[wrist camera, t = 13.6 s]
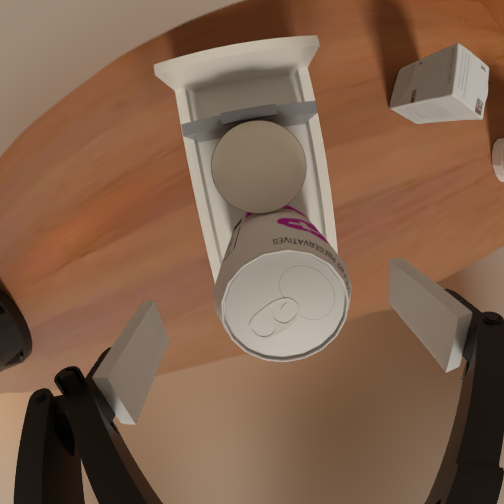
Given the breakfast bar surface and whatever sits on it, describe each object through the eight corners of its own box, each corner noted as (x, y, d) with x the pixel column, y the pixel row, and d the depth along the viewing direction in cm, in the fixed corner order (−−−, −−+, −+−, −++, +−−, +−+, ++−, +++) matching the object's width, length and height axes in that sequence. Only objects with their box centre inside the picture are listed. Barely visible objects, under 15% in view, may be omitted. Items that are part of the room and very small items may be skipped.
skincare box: (397, 68, 25) (455, 36, 13) (427, 86, 25) (490, 65, 14) (387, 110, 27) (448, 91, 15) (418, 128, 27) (485, 120, 16)
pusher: (200, 142, 27) (179, 135, 19) (198, 132, 27) (176, 122, 19) (303, 124, 26) (321, 110, 19) (301, 114, 26) (318, 97, 18)
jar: (230, 205, 29) (219, 224, 21) (217, 139, 27) (200, 129, 19) (298, 193, 29) (316, 207, 20) (286, 126, 27) (299, 111, 18)
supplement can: (276, 182, 28) (296, 203, 14) (327, 243, 30) (383, 314, 15) (216, 235, 30) (179, 303, 15) (268, 290, 31) (275, 388, 17)
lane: (222, 288, 33) (211, 330, 25) (181, 89, 27) (153, 64, 18) (333, 269, 32) (357, 306, 24) (301, 67, 26) (317, 35, 17)
